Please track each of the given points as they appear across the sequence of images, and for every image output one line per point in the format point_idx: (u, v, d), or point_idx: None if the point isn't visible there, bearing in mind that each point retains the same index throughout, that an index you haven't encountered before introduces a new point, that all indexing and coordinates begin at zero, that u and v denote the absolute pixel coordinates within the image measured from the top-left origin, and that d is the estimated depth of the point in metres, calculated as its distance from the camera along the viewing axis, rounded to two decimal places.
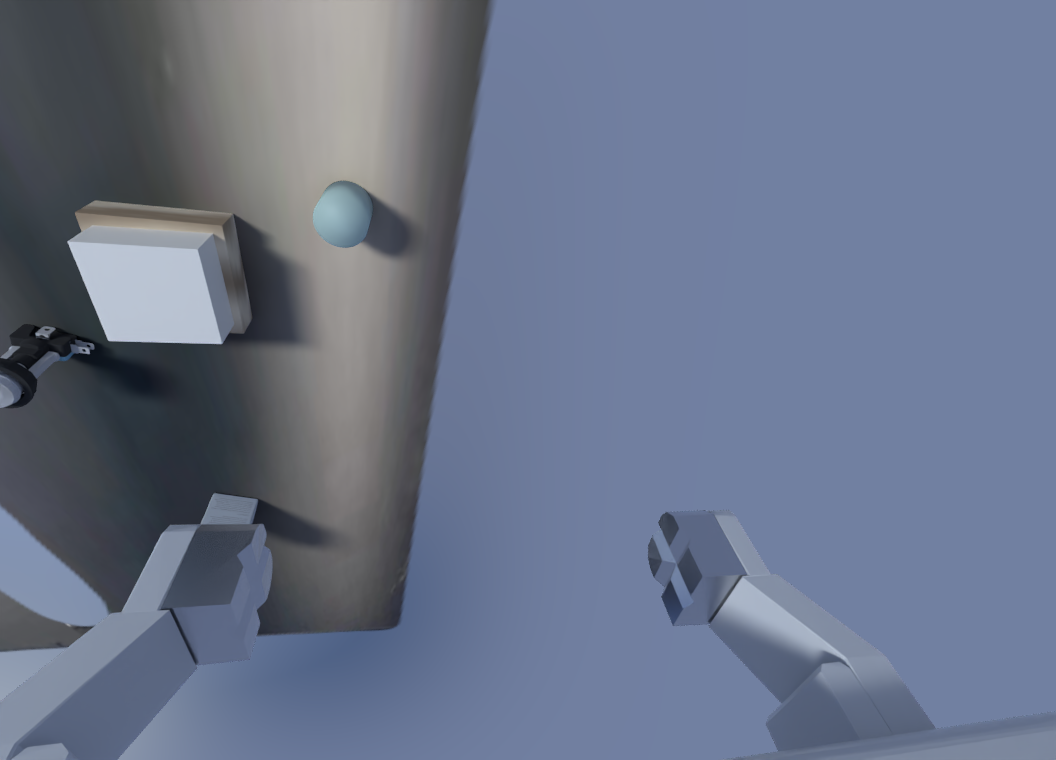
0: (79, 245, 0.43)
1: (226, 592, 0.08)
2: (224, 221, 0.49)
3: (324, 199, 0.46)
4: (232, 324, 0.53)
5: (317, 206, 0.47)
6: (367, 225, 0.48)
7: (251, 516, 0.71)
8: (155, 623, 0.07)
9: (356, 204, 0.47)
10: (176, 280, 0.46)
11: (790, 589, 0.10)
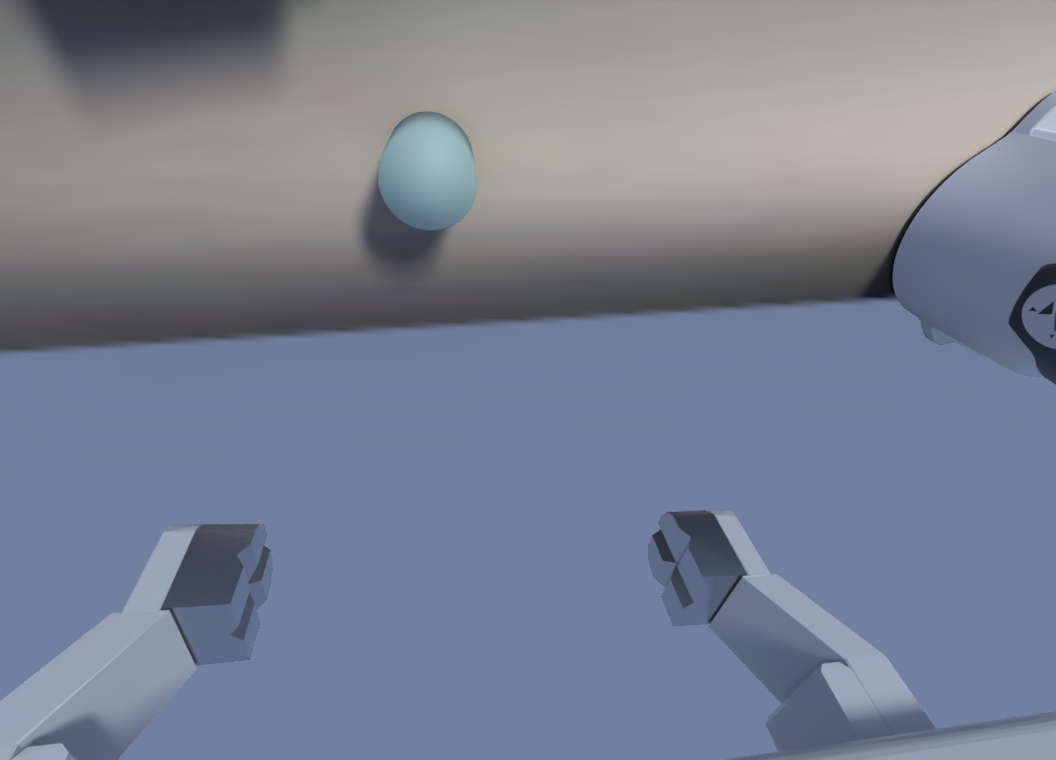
0: None
1: (226, 592, 0.08)
2: None
3: (463, 151, 0.25)
4: None
5: (446, 138, 0.25)
6: (435, 228, 0.27)
7: None
8: (155, 623, 0.07)
9: (468, 208, 0.27)
10: None
11: (790, 589, 0.10)
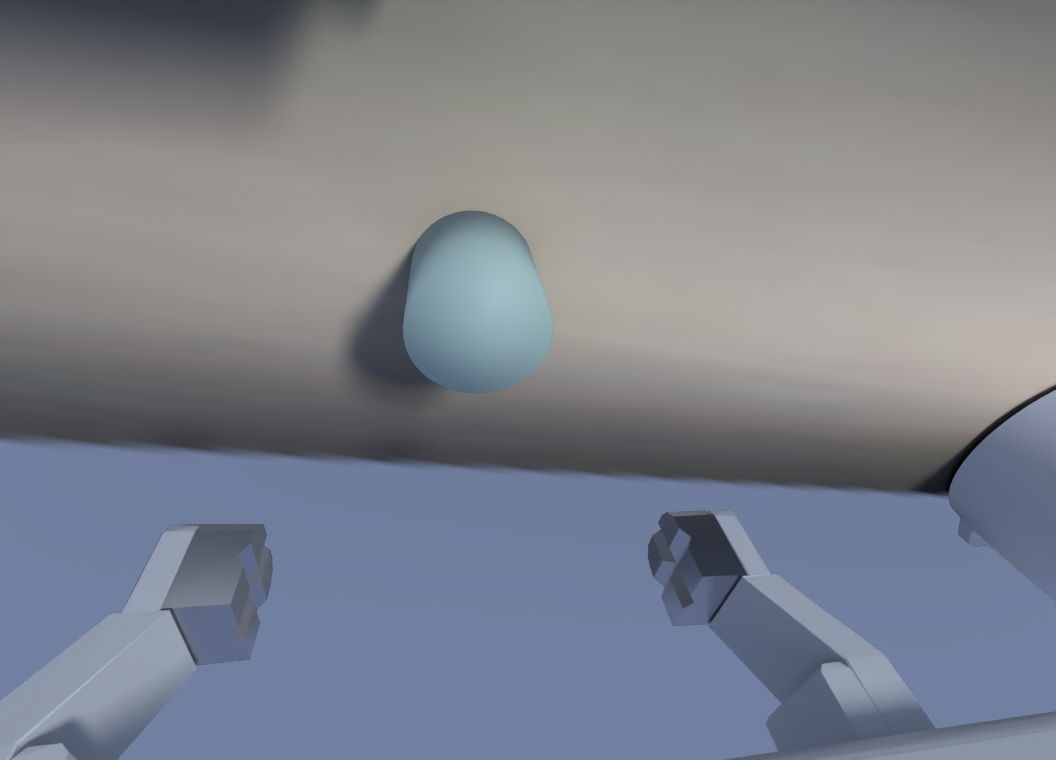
0: None
1: (226, 592, 0.08)
2: None
3: (544, 303, 0.16)
4: None
5: (526, 283, 0.16)
6: (470, 390, 0.18)
7: None
8: (155, 623, 0.07)
9: (527, 373, 0.18)
10: None
11: (789, 589, 0.10)
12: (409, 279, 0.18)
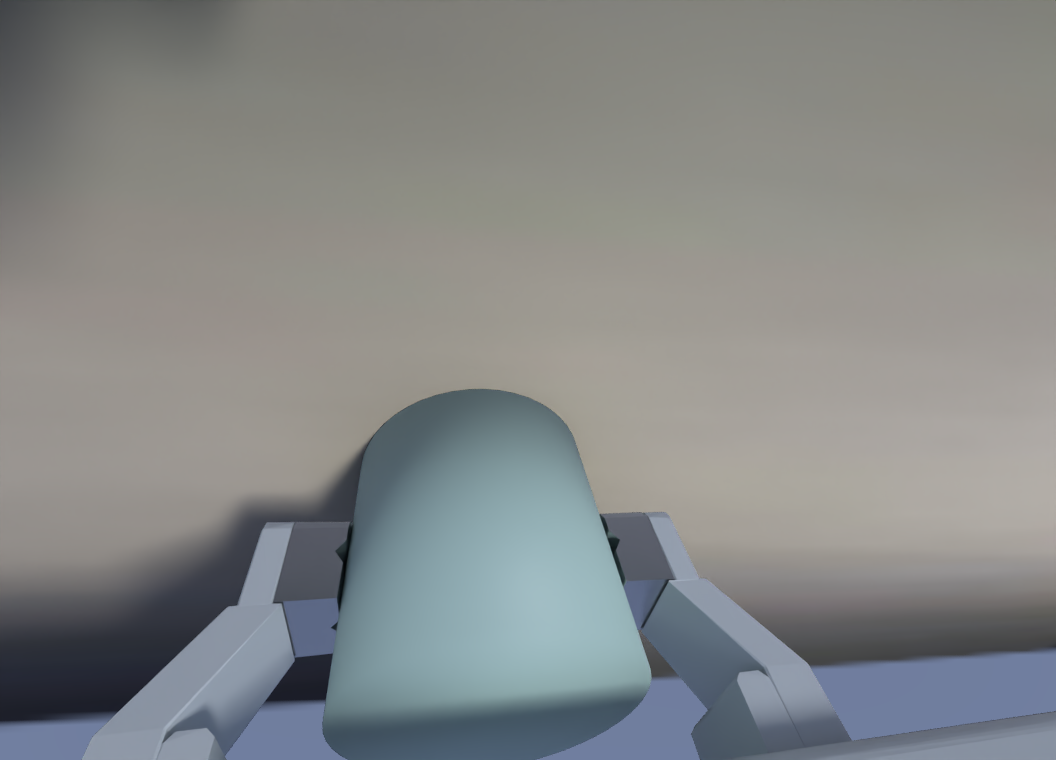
0: None
1: (330, 586, 0.08)
2: None
3: (638, 658, 0.07)
4: None
5: (605, 643, 0.07)
6: None
7: None
8: (269, 616, 0.08)
9: (589, 737, 0.09)
10: None
11: (718, 594, 0.09)
12: (349, 551, 0.09)
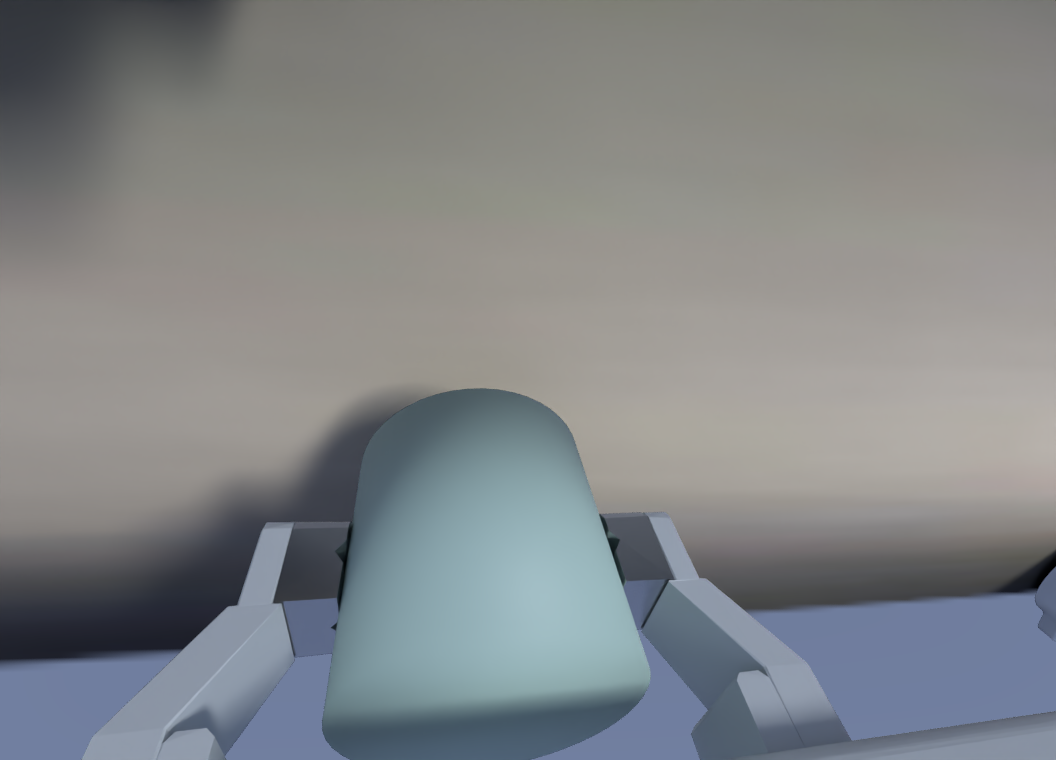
0: None
1: (330, 586, 0.08)
2: None
3: (637, 656, 0.07)
4: None
5: (604, 641, 0.07)
6: None
7: None
8: (269, 616, 0.08)
9: (588, 735, 0.09)
10: None
11: (718, 594, 0.09)
12: (348, 550, 0.09)
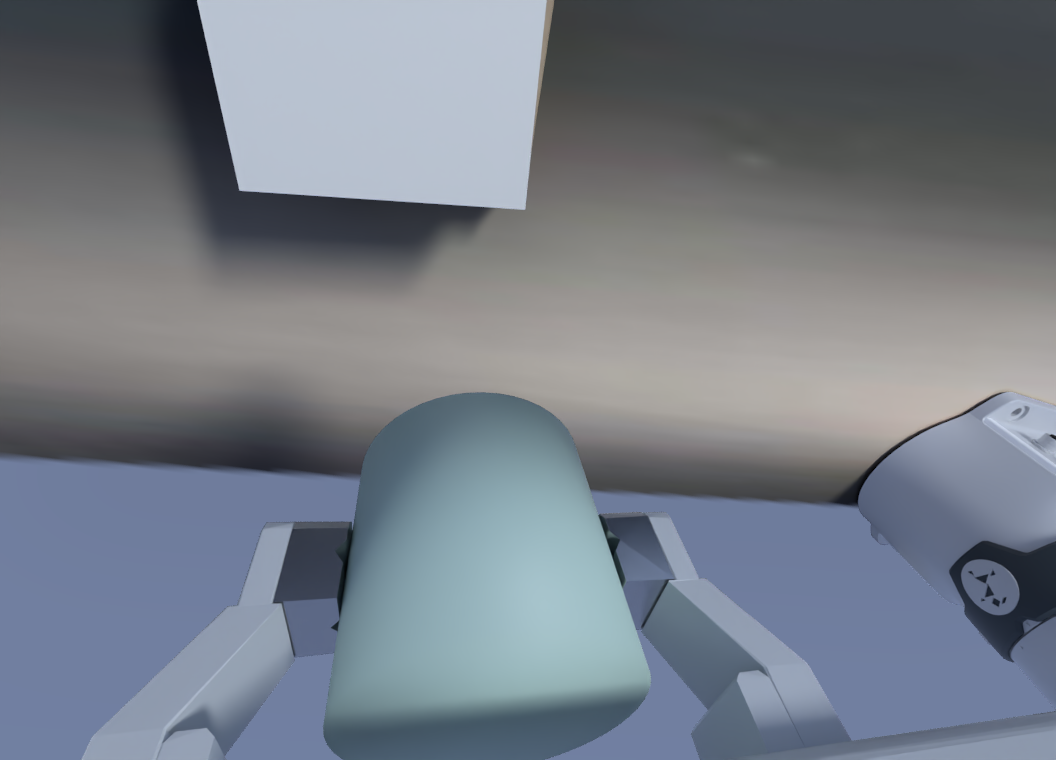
0: None
1: (330, 586, 0.08)
2: None
3: (638, 661, 0.07)
4: None
5: (604, 646, 0.07)
6: None
7: None
8: (269, 616, 0.08)
9: (589, 739, 0.09)
10: (441, 132, 0.17)
11: (718, 594, 0.09)
12: (349, 554, 0.09)
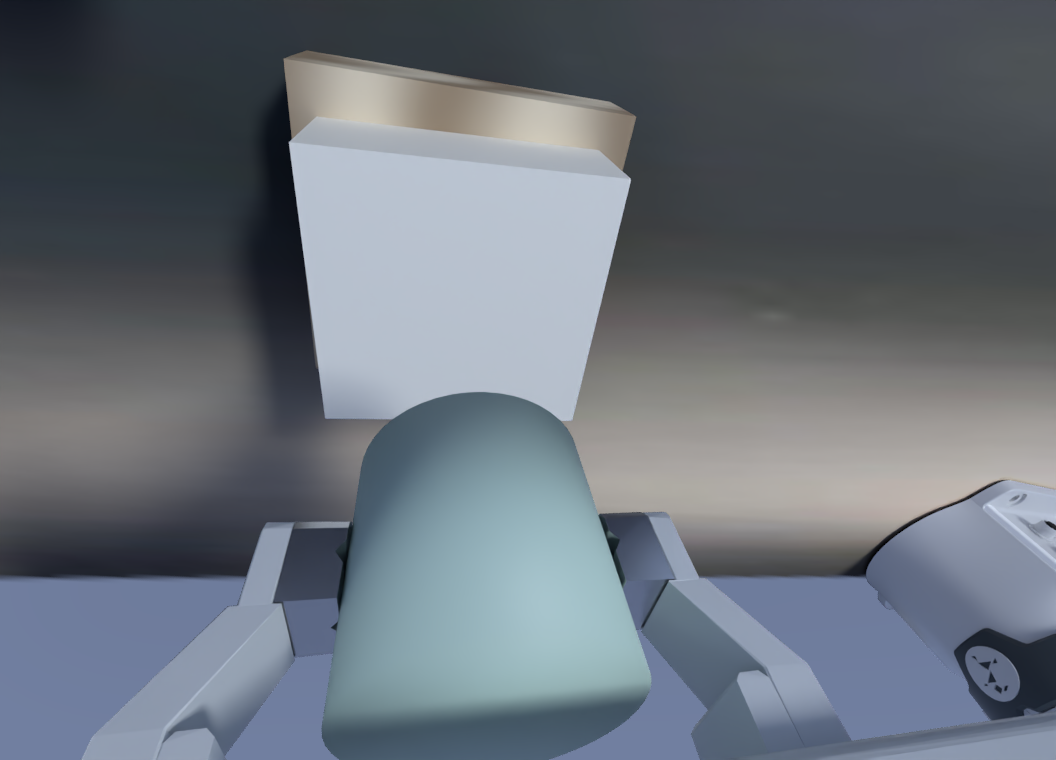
0: (615, 202, 0.16)
1: (330, 586, 0.08)
2: None
3: (638, 662, 0.07)
4: None
5: (605, 647, 0.07)
6: None
7: None
8: (269, 616, 0.08)
9: (589, 741, 0.09)
10: (505, 372, 0.19)
11: (718, 594, 0.09)
12: (348, 554, 0.09)
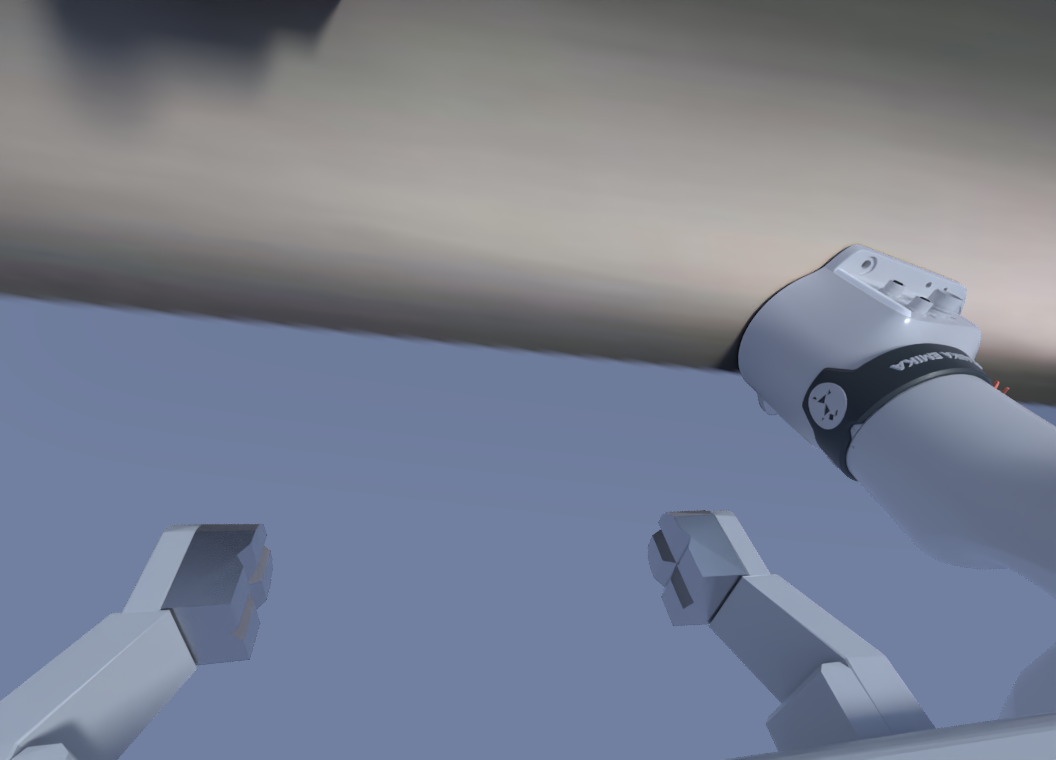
0: None
1: (226, 592, 0.08)
2: None
3: None
4: None
5: None
6: None
7: None
8: (155, 623, 0.07)
9: None
10: None
11: (790, 590, 0.10)
12: None
